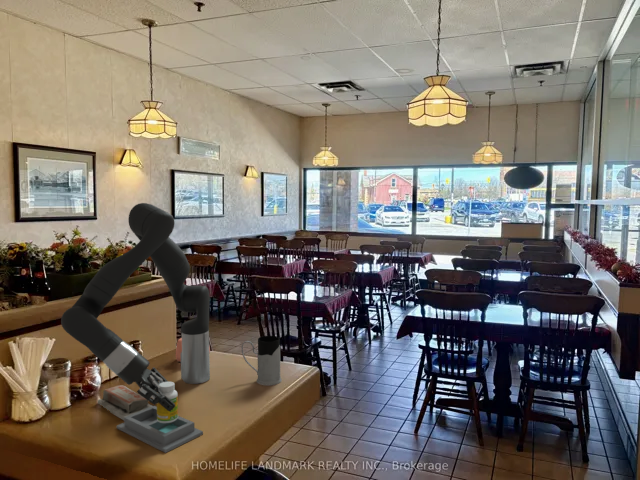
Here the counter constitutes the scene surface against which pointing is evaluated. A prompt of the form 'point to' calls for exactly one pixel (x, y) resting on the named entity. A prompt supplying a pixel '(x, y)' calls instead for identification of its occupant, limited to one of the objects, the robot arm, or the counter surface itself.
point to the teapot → (179, 350)
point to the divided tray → (159, 430)
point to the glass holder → (267, 360)
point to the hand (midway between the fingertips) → (174, 403)
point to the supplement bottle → (170, 393)
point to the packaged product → (123, 401)
